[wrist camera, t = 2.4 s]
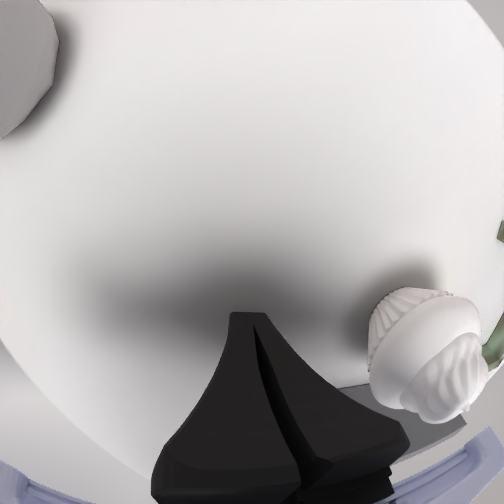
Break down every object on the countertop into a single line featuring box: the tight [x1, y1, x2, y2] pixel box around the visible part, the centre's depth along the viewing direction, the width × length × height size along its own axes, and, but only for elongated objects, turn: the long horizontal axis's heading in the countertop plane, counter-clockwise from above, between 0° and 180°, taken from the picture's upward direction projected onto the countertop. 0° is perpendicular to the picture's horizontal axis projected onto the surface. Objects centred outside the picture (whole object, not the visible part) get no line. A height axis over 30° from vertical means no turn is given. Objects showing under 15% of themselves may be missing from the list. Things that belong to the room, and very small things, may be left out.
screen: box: [338, 384, 467, 466], centre depth 13 cm, size 4×12×6 cm, turn 83°
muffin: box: [367, 287, 488, 424], centre depth 10 cm, size 6×6×7 cm
